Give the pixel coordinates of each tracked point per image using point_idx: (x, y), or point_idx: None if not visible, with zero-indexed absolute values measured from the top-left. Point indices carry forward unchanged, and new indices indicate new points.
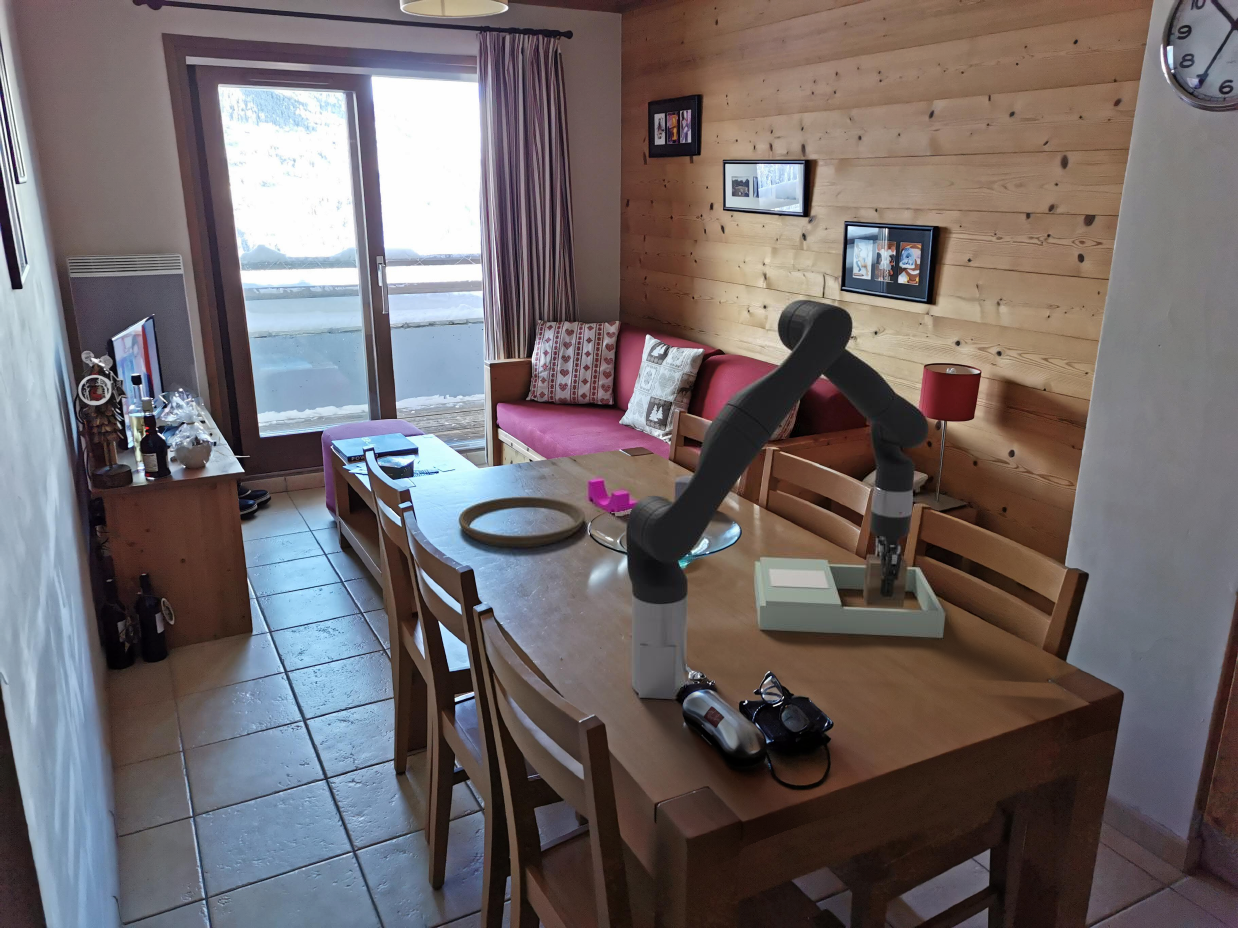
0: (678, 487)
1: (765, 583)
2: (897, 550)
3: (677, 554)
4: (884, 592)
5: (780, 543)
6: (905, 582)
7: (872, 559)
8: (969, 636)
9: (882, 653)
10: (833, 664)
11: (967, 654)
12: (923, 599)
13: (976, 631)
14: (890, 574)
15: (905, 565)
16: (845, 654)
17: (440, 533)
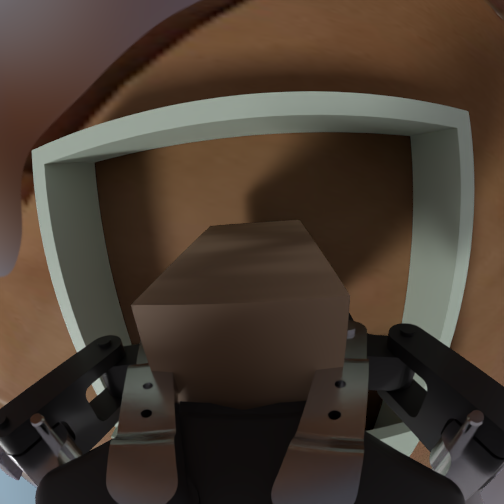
0: (19, 475)
1: None
2: (451, 482)
3: None
4: None
5: (18, 394)
6: (317, 247)
7: None
8: (393, 49)
9: (483, 290)
10: (488, 365)
11: (477, 97)
12: (217, 132)
13: (356, 21)
14: (410, 375)
15: (348, 307)
16: (471, 354)
17: None
